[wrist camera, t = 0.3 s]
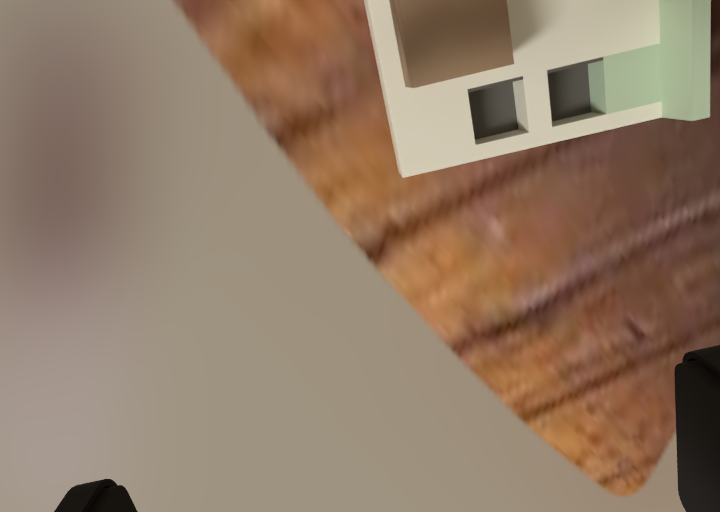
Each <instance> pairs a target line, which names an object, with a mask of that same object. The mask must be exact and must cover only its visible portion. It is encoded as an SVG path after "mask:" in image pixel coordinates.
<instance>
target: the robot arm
mask: <svg viewBox="0 0 720 512" xmlns="http://www.w3.org/2000/svg"><path fill="white" fill-rule="evenodd" d="M675 403H676V435H677V464H678V465H677V468H678V491H679V496H680V500H681V502H682V505H683V507H684V508H685V510H686V512H720V345H718V346H713V347H709V348H704V349H700V350H695V351H691V352H688V353H686V354H685V355H684V357H683V362H682V363H680V364H678V365H676V367H675ZM54 512H137V510H136V508H135V506H134V504H133V502H132V500H131V498H130V496H129V494H128V492H127V490H126V489H125V487H123V486H121V485H119V486H117V484H116V483H115V482H114V481H113V480H111V479H104V480H99V481H95V482H90V483H85V484H81V485H77V486H75V487H72V488H71V489H70V490H69V491H68V492H67V494H66V495H65V497H64V498H63V500H62V501H61V502H60V504H59V506H58V507H57V509H56V510H55V511H54Z"/></svg>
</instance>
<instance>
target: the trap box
mask: <svg viewBox="0 0 720 512" xmlns="http://www.w3.org/2000/svg"><path fill="white" fill-rule="evenodd" d="M364 3H365V8H366V13H367V18H368V23H369V28H370V33H371V37H372V42H373V47H374V52H375V57H376V62H377V67H378V72H379V77H380V82H381V87H382V92H383V97H384V102H385V106H386V111H387V116H388V121H389V126H390V131H391V136H392V141H393V146H394V151H395V156H396V161H397V166H398V171H399V173H400V174H401V176H402V177H403V178H404V177H409V176H413V175H417V174H421V173H426V172H430V171H434V170H439V169H443V168H447V167H451V166H456V165H460V164H464V163H468V162H473V161H477V160H481V159H486V158H490V157H494V156H498V155H503V154H507V153H511V152H516V151H520V150H524V149H528V148H533V147H537V146H541V145H545V144H550V143H554V142H558V141H563V140H567V139H571V138H575V137H580V136H584V135H588V134H593V133H597V132H601V131H605V130H610V129H614V128H618V127H622V126H627V125H631V124H635V123H640V122H644V121H648V120H652V119H657V118H661V117H663V118H672V119H680V120H689V121H695V120H699V119H703V118H708V117H710V34H711V0H507V6H508V15H509V24H510V32H511V41H512V49H513V58H514V64H512V65H508V66H504V67H500V68H496V69H491V70H487V71H483V72H479V73H475V74H471V75H466V76H462V77H458V78H454V79H450V80H446V81H442V82H437V83H433V84H429V85H425V86H421V87H417V88H409V87H405V83H404V78H403V72H402V67H401V62H400V56H399V51H398V46H397V40H396V35H395V30H394V24H393V19H392V14H391V8H390V3H389V0H364Z"/></svg>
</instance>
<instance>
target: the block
mask: <svg viewBox="0 0 720 512" xmlns="http://www.w3.org/2000/svg"><path fill="white" fill-rule="evenodd" d="M389 3H390V8H391V14H392V19H393V24H394V30H395V35H396V40H397V46H398V51H399V56H400V62H401V67H402V72H403V78H404V83H405V87H409V88H417V87H421V86H425V85H429V84H433V83H437V82H442V81H446V80H450V79H454V78H458V77H462V76H466V75H471V74H475V73H479V72H483V71H487V70H491V69H496V68H500V67H504V66H508V65H512V64H514V58H513V49H512V41H511V32H510V24H509V15H508V6H507V0H389Z"/></svg>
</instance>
